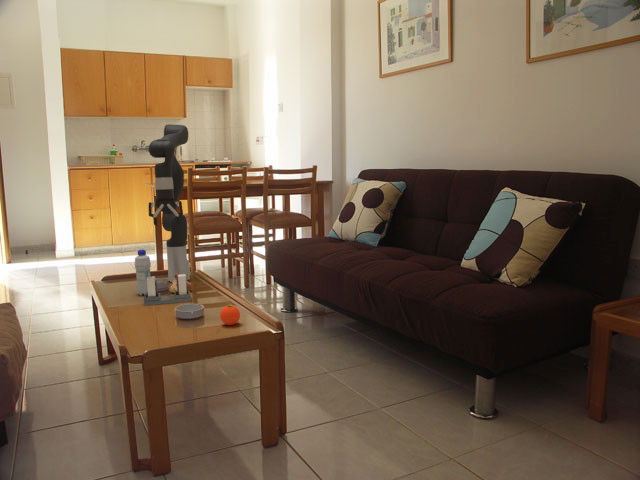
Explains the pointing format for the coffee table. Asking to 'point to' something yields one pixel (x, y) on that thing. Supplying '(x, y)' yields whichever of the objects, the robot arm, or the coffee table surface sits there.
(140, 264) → the bottle
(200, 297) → the coffee table surface
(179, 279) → the block
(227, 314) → the clementine
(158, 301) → the grey boxy piece
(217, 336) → the coffee table surface
